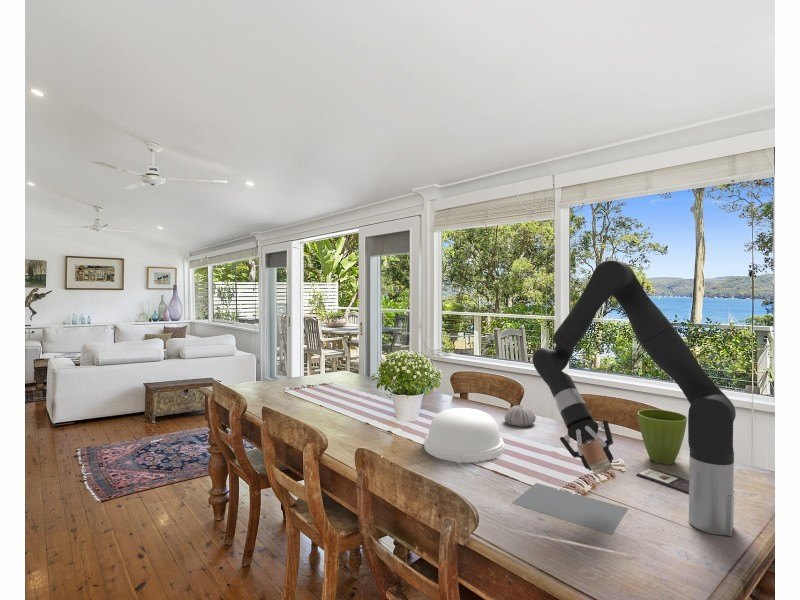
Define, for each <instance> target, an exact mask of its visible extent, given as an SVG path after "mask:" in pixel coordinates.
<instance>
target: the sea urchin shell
mask: <svg viewBox="0 0 800 600" xmlns="http://www.w3.org/2000/svg"><path fill="white" fill-rule="evenodd" d="M536 419H537V417H536V415H535V413H534V412H533V411H532V410H531V408H529V407H527V406H525V405H522V404H521V405H520V404H518V405H513V406H511V407H510V408H509V409H508V410H507V411H506V412H505V414H504V421H505V422H506V423H507V424H509V425H512V426H514V427H523V428H524V427H530V426H532V425H533V424H534V423H535V422H536V421H537V420H536Z"/></svg>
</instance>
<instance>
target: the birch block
mask: <svg viewBox="0 0 800 600" xmlns="http://www.w3.org/2000/svg"><path fill="white" fill-rule="evenodd" d="M579 447H580V449H581V451H582V453H583V455H584V457H585V459H586V461H587V464H588V465H589V467H590V468H591V469H592V470H591V471H592V472H593V473H594V475H597V476H598V475H600V474H603V473H605V472H607V471H611V470H612V469H614V466H613V465H612V463H610V462H609V460H608V458H607V456H606V454H605V452H604V450H603V447H602V446H601V444H600V442H599V441H598V439H597V440H594V441H591V442H588V443H587V444H584V445H582V446H579Z"/></svg>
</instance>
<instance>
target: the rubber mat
mask: <svg viewBox="0 0 800 600" xmlns="http://www.w3.org/2000/svg"><path fill="white" fill-rule="evenodd" d="M557 489H558V488H556V487H553V486H549V485H546V484H542V483H538V482H535V483H534V484H533V485H532V486H530V487H529V488H528V489H527V490H525V491H524V492H523V493H522V494H521V495H519V496H518V497H517V498H516V499H515V500H514V501H512V502H511V504H512V505H516V506H519V507H522V508H525V509H527V510H531V511H535V512H537V513H541V514H544V515H547V516H551V517H553V518H557V519H559V520H562V521H566V522H570V523H573V524H576V525H579V526H582V527H585V528H588V529H592V530H595V531H598V532H601V533H603V534H606V535H610V536H612V535H613V533H614V531H615V530H616V529H617V527H618V526H619V524H620V522H622V520H623V518H624V517H625V514H626V513H627V512H628V510H629V509H630V508H628V507H625V506H622V505H619V504H618V505H617V504H614V503H610V502H606V501H603V500H601V499H596V498H593V497H589V496H585V495H581V494H578V493H575V494H572V493H573V492H571V493H570V491H567V490H563V489H560V490H557Z"/></svg>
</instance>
